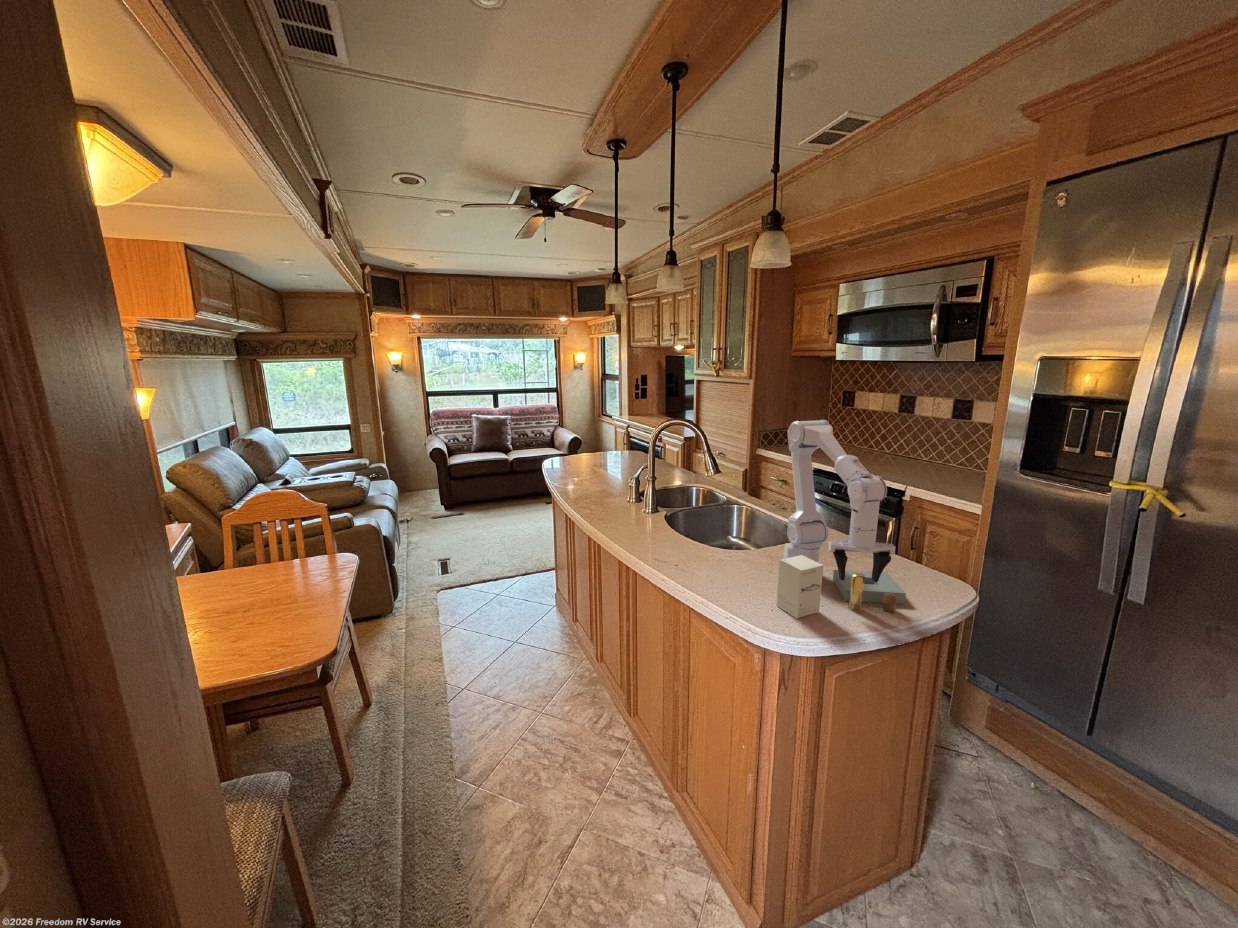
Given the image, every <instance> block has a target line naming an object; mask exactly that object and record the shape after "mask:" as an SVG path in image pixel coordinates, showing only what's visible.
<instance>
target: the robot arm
mask: <svg viewBox="0 0 1238 928" xmlns="http://www.w3.org/2000/svg"><path fill="white" fill-rule="evenodd" d="M786 432H787V441H788V451H789V452H790V456H791V465H792V466H791V467H792V477H793V489H794V498H795V499H794V500H795V510H796V511H794V513H792V514H791V516H789V517H788V519H787V520H788V521H787V522H788V524H787V525H788V526H787V530H786V534H787V539H788V541H789V543H788V542H787V543H784V546H783V547H784V548H783V558H782V559H786V558H790V557H795V556H799V555H803V556H805V557H807V558H809V559H811V560H814V561H816V562H818V563H820V553H821V547H823V546H824V545H823V544H824V543H825V542H826V541H827V540H828V537H829V528H828V526H827V523H826V519H825V518H826V517H825V516H824V515H823V514H821V513H820V512H819V511H818V510H817V505H816V493H815V483H814V473H813V463H812V455H813V453H814V452H815V451H816V450H818V449H821V450H822V451H823V452H824V454H826V456H827V457H828V458H830V460H832V462H834V467H833V469H834V472H836V473H837V475H838V476H839V477H840V478H841V480H842V481H843V482H844V484H845V485H846V486H847V494H848V495H847V496H848V497H849V506H850V508H851V513H850V521H849V522H850V524H849V533H848V539H847V540H838V541H837V540H834V541H832V540H831V541H828V547H827V549H828V551H829V552H831V553H832V554H833V557H834V559H835V562H836V565H837V570H838V572H839V578H840V579H841V580H843V581H844V579H845V570H846V568H847V567H846V565H847V562H848V559H849V557H848V556H847V553H846V552H850V553H851V552H853V553H858V552H859V553H862V554H871V553H872V556H873V557H872V558H873V561H872V563H873V564H872V570H871V572H872V579H873V580H874V582H878V580H879V577H880V575H881V573H882V572H884V569H885V568H886V567H887V566H888V564H889V563H890V562H891V561H892V556H891V555H894V556H895V555H896V546H895V545H894V544H893V543H884V542H877V539H876V538H877V530H878V522H879V513H880V504H881V503H880V502H881V501H883V500H884V499H885V498H886V496H887V494H888V486H887V483H886V482H885V481H884V479H883V477H881V476H879V475H874V474H873V473H870V472H869V470H868V469H866V467H865V466H864V465H863V464H862V463H861V461H860V460H859V458H858V457H857V456H855V455H853V454H847V452H846V451H845V450H844V448H843V447H842V445H841V444H840V442H839V441H838V440H837V439H836V437H835V436H834V428H833V426H832V425H831V424H830V423H829V421H828V420H826V419H820V420H801V421H800V420H794V421H793V422H791V424H790V425H789V427H788V429H787V431H786Z"/></svg>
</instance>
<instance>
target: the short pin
mask: <svg viewBox="0 0 1238 928" xmlns="http://www.w3.org/2000/svg"><path fill="white" fill-rule="evenodd" d="M896 600H897V595H895V594H893V593H889V592H886V593H884V597H883V603H882V608H881V609H882V611H883V612H885V613H889V614H893V613H895V612H896V609H897V607H896V606H897V604H896Z"/></svg>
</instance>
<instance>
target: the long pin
mask: <svg viewBox="0 0 1238 928" xmlns="http://www.w3.org/2000/svg"><path fill="white" fill-rule="evenodd" d="M864 579H865V576H864V575H863V574H861V573H852V579H851V589H850V599H849V601H848V610H850V611H852V612H855V613H856V612H857V613H859V612H861V611H862V607H863V605H862V604H863V602H862V597H863V588H864Z"/></svg>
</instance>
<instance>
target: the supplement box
mask: <svg viewBox="0 0 1238 928" xmlns="http://www.w3.org/2000/svg"><path fill="white" fill-rule="evenodd" d="M778 566H779V567H778V579H777V580H778V581H777V593H776V594H777V595H776V606H777V607H778V608H780V609H781V610H783V611H784V612H786V613H787V612H788V613H787V614H789V615H790V614H791V615H790V616H792V617H793V616H794V617H793V618H795V619H799V618H802V617H806V616H809V615H813V614H816V613H819V612H820V607H821V606H820V605H821V598H822V597H821V596H822V595H821V593H822V587H823V586H822V584H823V576H824V575H823V574H824V564H822V563H820V562H819V563H818V562H816V561H814V560H811V559H809V558H807V557H805V556H803V555H799V556H795V557H790V558H786V559H783V558H782V559H779V564H778Z"/></svg>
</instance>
